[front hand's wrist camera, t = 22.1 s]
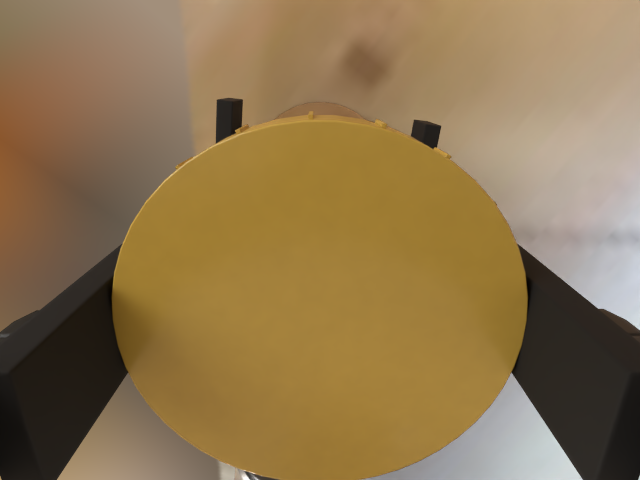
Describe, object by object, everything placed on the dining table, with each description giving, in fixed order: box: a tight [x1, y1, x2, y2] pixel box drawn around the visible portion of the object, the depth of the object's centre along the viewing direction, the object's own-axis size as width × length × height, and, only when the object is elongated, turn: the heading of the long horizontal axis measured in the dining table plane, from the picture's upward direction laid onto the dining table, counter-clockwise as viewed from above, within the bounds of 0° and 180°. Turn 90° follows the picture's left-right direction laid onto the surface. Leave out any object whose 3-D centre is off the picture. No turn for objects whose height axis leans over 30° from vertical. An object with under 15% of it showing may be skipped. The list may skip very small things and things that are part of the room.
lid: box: [112, 111, 528, 480], centre depth 11 cm, size 10×10×2 cm
